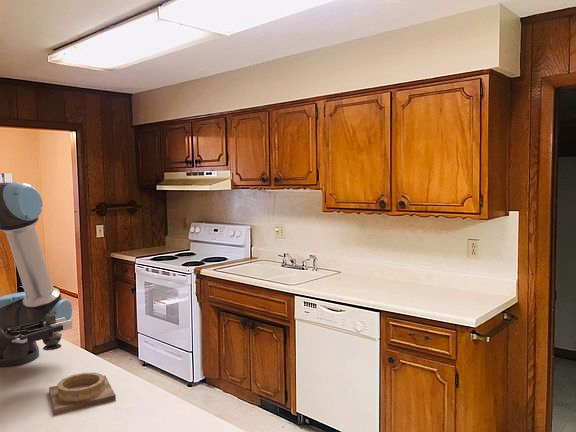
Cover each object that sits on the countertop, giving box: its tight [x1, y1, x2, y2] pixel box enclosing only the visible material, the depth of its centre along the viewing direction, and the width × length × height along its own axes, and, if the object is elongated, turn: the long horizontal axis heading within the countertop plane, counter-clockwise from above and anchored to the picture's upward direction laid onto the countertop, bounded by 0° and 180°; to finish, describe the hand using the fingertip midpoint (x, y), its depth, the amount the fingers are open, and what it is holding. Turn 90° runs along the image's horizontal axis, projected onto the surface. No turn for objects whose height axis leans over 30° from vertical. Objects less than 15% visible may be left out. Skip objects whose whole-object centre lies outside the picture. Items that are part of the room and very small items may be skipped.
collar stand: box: [48, 372, 117, 416], centre depth 141 cm, size 16×16×4 cm
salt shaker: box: [42, 310, 63, 351], centre depth 151 cm, size 6×6×12 cm
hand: (68, 322), depth 155 cm, fingers closed on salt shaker, 4 cm apart
